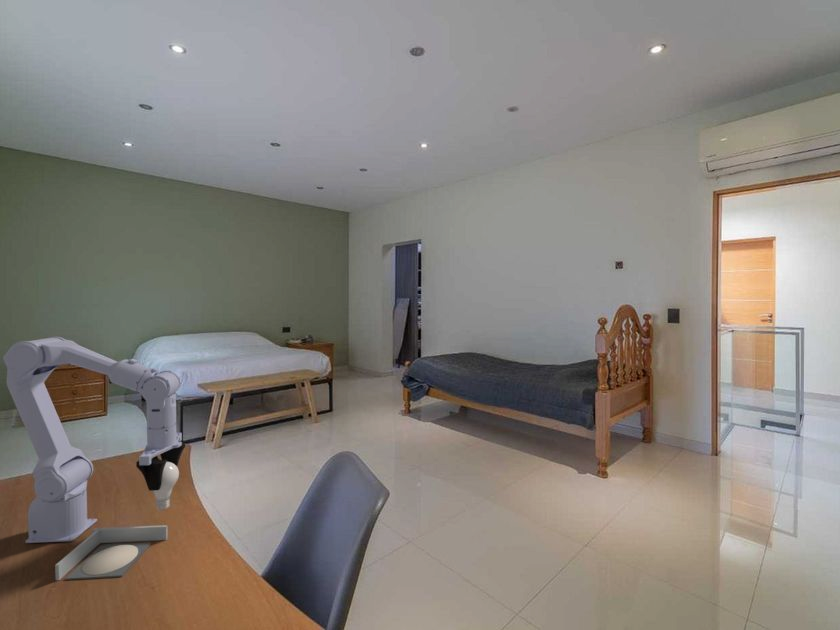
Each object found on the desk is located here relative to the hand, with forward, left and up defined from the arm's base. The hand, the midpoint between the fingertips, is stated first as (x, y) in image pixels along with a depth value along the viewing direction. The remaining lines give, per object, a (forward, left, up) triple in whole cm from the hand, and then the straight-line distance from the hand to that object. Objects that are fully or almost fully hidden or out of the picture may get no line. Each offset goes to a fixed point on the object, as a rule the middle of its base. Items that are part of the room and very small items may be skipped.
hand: (162, 482), depth 92 cm
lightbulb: (0, 0, -6) cm, 7 cm away
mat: (-4, -12, -10) cm, 16 cm away
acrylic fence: (-4, -11, -10) cm, 16 cm away
